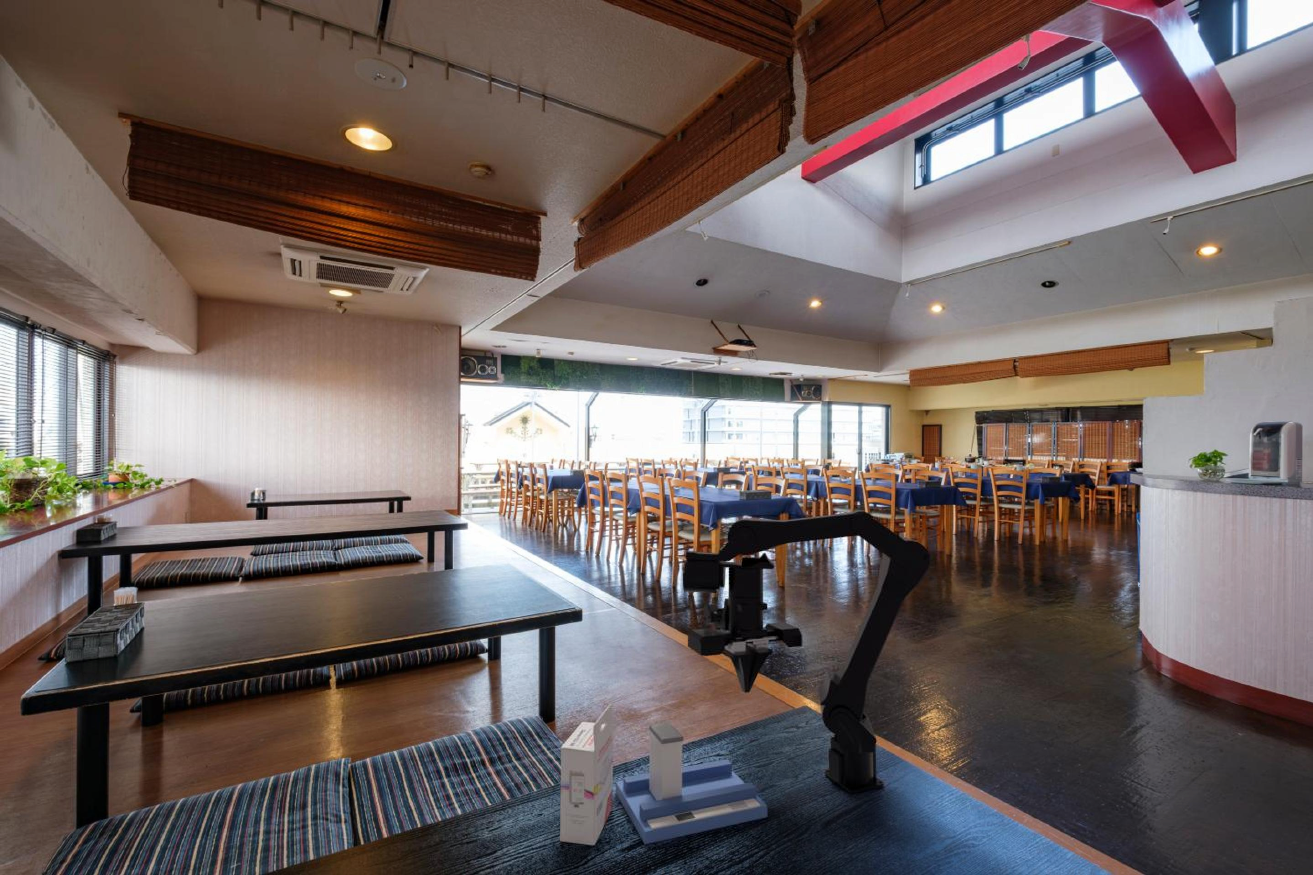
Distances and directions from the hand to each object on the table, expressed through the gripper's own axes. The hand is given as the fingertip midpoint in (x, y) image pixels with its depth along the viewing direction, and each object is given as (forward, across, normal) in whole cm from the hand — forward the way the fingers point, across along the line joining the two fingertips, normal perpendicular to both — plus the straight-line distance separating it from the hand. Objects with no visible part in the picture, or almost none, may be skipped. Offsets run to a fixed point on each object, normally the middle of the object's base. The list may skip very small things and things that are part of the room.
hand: (745, 691), depth 93 cm
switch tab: (+10, +17, +7) cm, 21 cm away
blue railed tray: (+12, +13, +6) cm, 19 cm away
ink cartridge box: (+12, +28, +6) cm, 31 cm away
